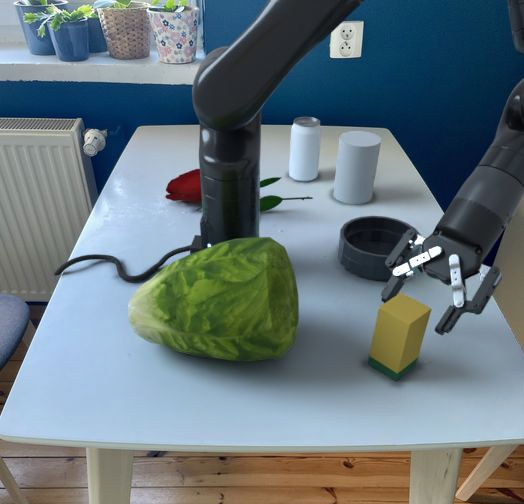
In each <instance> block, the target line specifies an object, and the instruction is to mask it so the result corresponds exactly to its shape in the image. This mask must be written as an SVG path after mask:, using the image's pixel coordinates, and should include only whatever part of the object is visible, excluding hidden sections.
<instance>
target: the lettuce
mask: <svg viewBox="0 0 524 504" xmlns="http://www.w3.org/2000/svg"><path fill="white" fill-rule="evenodd" d="M291 261H292V260H291V259H290V257H289V254H288V252H287V249H286V247H285V246H284V245H282V244H281V243H279V242H278V241H277V240H275V239H273V238H272V237H271V236H259V237H251V238H240V239H233V240H229V241H225V242H222V243H218V244H215V245H213V246H211V247H208V248H206V249H203V250H200V251H198V252H195V253H192V254H190V253H189V254H187V255H185V256H183V257H181V258H179V259H177V260H174V261H173V262H171V263H169V264H167V265H166V266H164V267H163V268H162V269H161V270H160V271H158V272H157V273H156V274H155V275H154V276H153V277H152V278H150V279H149V280H147V281H146V282H144V283H142V284H141V285H140V286H139V287H138V288H137V289H136V290H135V292H134V293H133V294H132V296H131V298H130V299H129V301H128V305H127V316H128V323H129V326H130V328H131V330H132V331H133V332H134V333H135V334H136V335H137V336H139V337H140V338H141V339H143V340H144V341H147V342H148V343H152V344H155V345H159V346H163V347H166V348H168V349H171V350H173V351H176V352H180V353H182V354H187V355H191V356H192V355H193V356H197V357H201V358H214V359H221V360H226V361H233V362H234V361H235V362H254V361H264V360H271V359H278V358H282V357H284V355H285V354H286V353H287V352H288V351H289V350H290V349H291V348H293V346H294V344H295V342H296V336H297V332H298V327H299V323H300V307H299V305H300V304H299V302H300V301H299V300H300V299H299V291H298V284H297V278H296V274H295V273H296V272H295V268H294V266H293V263H292V262H291Z"/></svg>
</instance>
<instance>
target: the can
mask: <svg viewBox="0 0 524 504" xmlns="http://www.w3.org/2000/svg"><path fill="white" fill-rule="evenodd" d="M321 143H322V125H321V120H320V119H318V118H316V117H312V116H300V117H296V118H294V120H293V124H292V126H291V128H290V144H289V163H288V164H289V165H288V176H289V177H290V178H291V179H292V180H294V181H297V182H302V183H308V182H312V181H314V180H316V178H318V175H319V164H320V154H321Z"/></svg>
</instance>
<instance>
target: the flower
mask: <svg viewBox="0 0 524 504" xmlns="http://www.w3.org/2000/svg"><path fill="white" fill-rule="evenodd" d="M282 178H283V177H282V176H280V177H279V176H275V177H268V178H265V179H261V180H260V189H261V188H265V187H268V186H270V185H272V184H275V183H276V182H278V181H280V180H281V179H282ZM165 192H166V193H168V194H165V195H164V198H165V199H167V200H168V201H169V200H170V201H172V202H178V201H181V202H188V203H190V202H191V203H199V205H200V207H199V208H197V209H195V212H197V211H200V210H201V209H202V195H201V180H200V168H195V169H192V170H189V171H187V172H184V173H182V174H179V175H178V176H177V177H175V178H172V179H171V180H170V181H169V182H167V185H166V188H165ZM313 199H314V197H311V196H304V197H303V196H302V197H301V196H299V197H281V196H280V195H279V196H278V195H273V194H271V195H264V196H260V213H263V212H267V211H270V210H272V209H275V208H276V207H277V206H279V205H280V204H281V203H282V202H283V201H292V200H294V201H295V200H302V201H305V200H313Z"/></svg>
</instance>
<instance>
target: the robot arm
mask: <svg viewBox="0 0 524 504" xmlns="http://www.w3.org/2000/svg"><path fill="white" fill-rule="evenodd" d="M365 1H366V0H267V1H266V3H265V5H264V6H263V7H262V9H261V10H260V12H259V13H258V15H257V16H256V17H255V19H254V20H252V22H251V23H250V24H249V25H248V27H246V29H245V30H243V32H242V33H240V35H239V36H238V37H237V38H235V40H234V41H233V42H231V44H230V45H226V46H225V45H224V46H220V47H218V48H215V49H212V51H210V52H209V53H208V54H207V55H206V56H205V57H204V58H203V60H202V61H201V62H200V65H199V67H198V69H197V71H196V74H195V76H194V79H193V83H192V88H191V100H192V106H193V110H194V113H195V115H196V117H197V119H198V121H199V145H198V165H199V169H200V180H201V195H202V210H201V211H202V214H201V218H200V220H199V230H200V231H199V232H200V234H195V235H194V236H193V239H192V241H191V244H189V245H186V246H182V247H178V248H175V249H173V250H171V251H169V252H167V253H166V254H164V255H163V256H162V257H161V258H160V260H159V261H158V262H156V263H154V265H152V266H151V267H149V269H147V270H146V271H144V272H143V273H140V274H137V275H127V274H125V272H124V271H123V268H122V264H121V261H120V259H118V257H116V256H113V255H111V254H101V253H100V254H99V253H98V254H95V253H93V254H85V255H80V256H76V257H73V258H71V259H69V260H68V261H65V262H64V263H63V264H61V265H60V266H59V267H58V268H57V269H56V270H55V271H54V273H53V276H55V277H57V276H60V275H61V274H62V273H63V272H64V271H66V269H68V268H70V267H71V266H73V265H76V264H77V263H80V262H85V261H91V260H93V261H94V260H102V261H103V260H104V261H109V262H113V263H114V265H115V267H116V271H117V274H118V276H119V278H121V279H122V280H124V281H126V282H127V281H128V282H139V281H142V280H145V279H147V278H148V277H149V276H151V274H153V273H154V272H156V271H157V270H158V269H159V268H161V267H162V266H163V265H164V264H165V263H166V262H167V261H168V260H169V259H170V258H172V257H174V256H176V255H179V254H183V253H186V252H189V255H190V254H192V253H195V252H198V251H200V250H203V249H206V248H208V247H211V246H213V245H215V244H218V243H222V242H225V241H229V240H233V239H240V238H251V237H260V215H261V214H260V213H261V212H260V198H261V188H260V181H261V154H262V153H261V151H262V150H261V149H262V108H263V107H264V106H265V104H266V102H267V101H268V100H269V99H270V97H271V96H272V95H273V93H275V91H276V90H277V89H278V88H279V86H280V85H281V84H282V82H283V81H284V80H285V79H286V77H287V76H288V75H289V74H290V73H291V71H292V70H293V69H294V68H295V67H296V66H297V65H299V64H300V62H301V61H302V60H303V59H304V58H305V57H306V56H308V54H310V53H311V52H312V51H313V50H314V49H316V47H317V46H319V45H320V44H321V43H322V42H323V41H324V40H326V38H328V36H330V35H331V34H332V33H333V32H334V31H335V30H336V29H337V28H338V27H339V26H340V25H341V24H342V23H344V21H345V20H347V18H349V16H351V15H352V14H353V13H354V12H355V11H356V10H357V9H358V8H359V7H360V6H361V5H363V3H364V2H365ZM506 4H507V5H506V6H507V9H508V10H507V11H508V18H509V24H510V25H509V26H510V30H511V37H512V43H513V45H514V49H515V51H516V52H517V53H518V54H519V55H522V56H524V0H506ZM523 198H524V78H522V79H520V81H519V82H518V83H517V84H516V86H515V87H514V88H513V89H512V91H511V93H510V94H509V96H508V98H507V100H506V103H505V106H504V108H503V111H502V114H501V117H500V119H499V122H498V125H497V128H496V132H495V134H494V138H493V141H492V142H491V144H490V145H489V147H488V148H487V150H486V152H485V153H484V155H483V156H482V158H481V159H480V161H479V162H478V164H477V166H476V167H475V169H474V170H473V171H472V172H471V174H470V175H469V176H468V177H467V178H466V179H465V181H464V182H463V183H462V185H461V187H460V188H459V190H458V191H457V192H456V195H454V197H453V199H452V201H451V202H450V204H449V205H448V207H447V208H446V210H445V212H444V213H443V215H442V216H441V217H440V219H439V221H438V222H437V224H436V225H435V228H434V230H433V231H432V233H430V235H429V236H428V237H424V236H422V235H421V236H420V235H418V234H416V232H415V231H414V229H408V230H407V231H406V233H405V234H404V236H403V237H402V238H401V240H400V241H399V243H398V244H397V245H396V247H395V248H394V250H393V251H392V252H391V254H390V255H389V257H388V258H387V259H386V261H385V264H386V266H387V267H388V268H389V269H390V270H391V272H392V276H391V278H390V279H389V280H387V282H386V284H385V286H384V287H383V289H382V291H381V293H380V297H381V299H380V300H381V302H382V304H384V303H386V302H387V301H389V300H390V299H392V298H393V297H395V296H396V295H398V294H399V293H400V291H401V289H402V288H403V286H404V285H405V283H404V282H405V281H407V280H410V279H412V278H413V277H419V276H422V275H425V274H426V275H427V276H428V277H429V278H431V279H435V280H439V281H440V282H441V283H442V284H444V285H446V286H447V287H449V286H451V290H452V296H453V297H452V299H453V304H452V305H451V304H449V306H448V307H447V309H446V311H445V312H444V314H443V315H442V316H441V318H440V319H439V321H438V323H437V324H436V325H435V327H434V332H435V333H436V334H438V335H440V336H443V335H444V334H445V333H446V334H449V333H450V332H452V330H453V329H454V327H455V326H456V324H457V323H458V321H459V320H460V318H461V317H462V315H464V314H466V313H468V314H474V315H476V316H479V315H481V314H482V313H483V312H484V310H485V308H486V307H487V305H488V303H489V301H490V299H492V296H493V294H494V293H495V291H496V289H497V288H498V287H499V284H500V283H501V281H502V279H503V274H502V272H501V270H500V268H499V267H498V266H489V265H486V264H484V261H485V258H487V256H488V254H489V253H490V251H491V250H492V248H493V247H494V245H495V244H496V242H497V241H498V239H499V238H500V236H501V234H503V231H504V230H505V229H506V227H507V226H508V225H509V224H510V222H511V221H512V219H513V217H514V215H515V213H516V212H517V210H518V209H519V206H520V204H521V202H522V200H523ZM420 246H421V253H420V254H419V256H416V257H414V258H412V259H410V260H409V261H408V262H407V263H405V264H403V262H404V261H405V260H406V258H407V257H408V255H409V254H410V253H411V251H412V250H416V249H417V248H418V247H420ZM402 264H403V265H402ZM479 274H480V277H479V280H480V282H481V283H480V285H479V287H478V288H477V290H476V291H475V294H473V295H474V296H473V297H472V299H471V300H468V297H467V295H468V293H467V292H468V290H467V281H466V280H468V279H470V278H472V277H474V276H477V275H479Z"/></svg>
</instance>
